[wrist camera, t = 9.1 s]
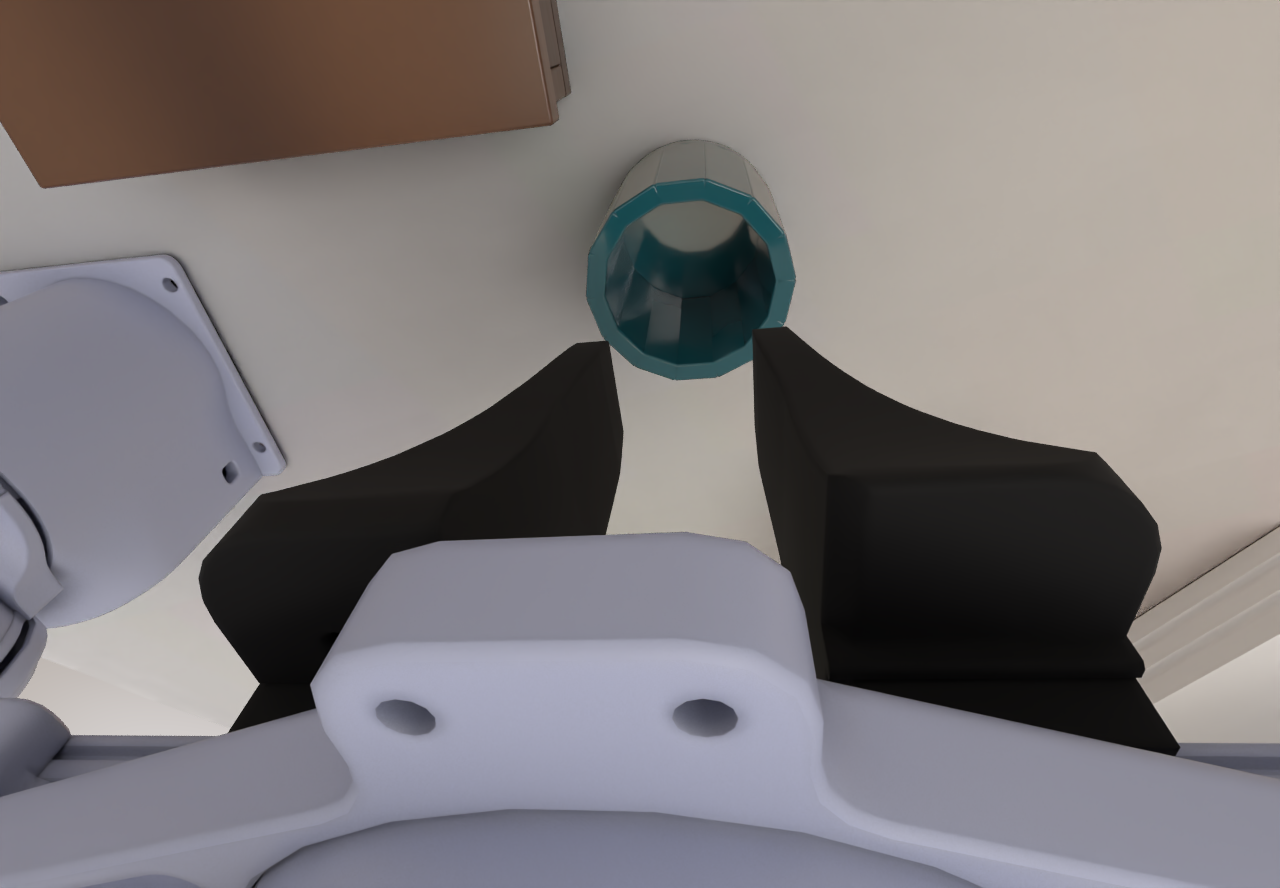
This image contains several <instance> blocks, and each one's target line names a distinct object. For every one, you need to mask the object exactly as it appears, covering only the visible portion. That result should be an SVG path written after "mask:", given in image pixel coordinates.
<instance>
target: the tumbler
mask: <svg viewBox="0 0 1280 888" xmlns="http://www.w3.org/2000/svg"><path fill="white" fill-rule="evenodd" d="M795 278H796V275H795V270H794V266H793V262H792V257H791V253H790V249H789V244H788V240H787V236H786V233H785V230H784V227H783V225H782V222H781V219H780V217H779V214H778V211H777V208H776V206H775V203H774V200H773V198H772V195H771V192H770V190H769V188H768V185H767V184H766V183H765V182H764V180H763V179H762V177H761V176H760V174H759V173H758V171H757V170H756V169H755V167H754V166H753V165H752V164H751V163H750V162H749V161H748V160H747V159H745V158H744V157H743V156H742V155H740V154H739V153H737V152H736V151H734V150H732V149H731V148H729V147H726V146H724V145H721V144H719V143H715V142H711V141H705V140H684V141H679V142H674V143H671V144H668V145H665V146H662V147H660V148H658V149H656V150H654V151H653V152H651V153H650V154H648V155H647V156H645V157H644V158H643V159H642V160H640V161H639V162H638V163H637V164H636V165H635V166H634V167H633V168H632V169H631V170H630V171H629V173H628V174H627V176H626V178H625V179H624V181H623V183H622V184H621V186H620V189H619V190H618V192H617V194H616V196H615V197H614V199H613V201H612V203H611V205H610V207H609V209H608V211H607V214H606V216H605V218H604V220H603V222H602V224H601V226H600V229H599V231H598V233H597V235H596V237H595V239H594V241H593V244H592V246H591V248H590V250H589V254H588V266H587V284H586V297H587V302H588V304H589V306H590V309H591V311H592V314H593V316H594V318H595V321H596V323H597V325H598V328H599V330H600V333H601V335H602V336H603V337H604V339H605V340H606V341H609V344H610V345H611V346H612V347H613V348H615V349H616V350H617V351H618V352H619V353H620V354H621V355H622V356H623V357H624V358H625V359H627V360H628V361H629V362H630V363H631V364H632V365H633V366H635V367H637V368H640V369H643V370H646V371H648V372H651V373H654V374H657V375H660V376H663V377H666V378H669V379H672V380H689V379H703V378H716V377H717V376H718V377H720V376H722V375H724V374H726V373H728V372H730V371H732V370H734V369H736V368H738V367H740V366H742V365H743V364H745V363H747V362H749V361H751V360H753V342H752V329H762V328H775V327H783V325H784V323H785V321H786V319H787V315H788V311H789V307H790V303H791V299H792V295H793V291H794V287H795V283H796V279H795Z"/></svg>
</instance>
